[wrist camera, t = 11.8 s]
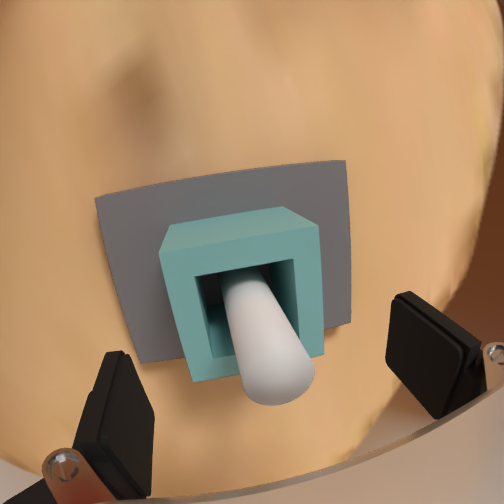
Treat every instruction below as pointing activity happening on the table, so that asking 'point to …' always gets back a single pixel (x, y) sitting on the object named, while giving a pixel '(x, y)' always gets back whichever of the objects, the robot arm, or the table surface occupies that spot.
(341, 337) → the table surface
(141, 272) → the post stand
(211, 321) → the collar
